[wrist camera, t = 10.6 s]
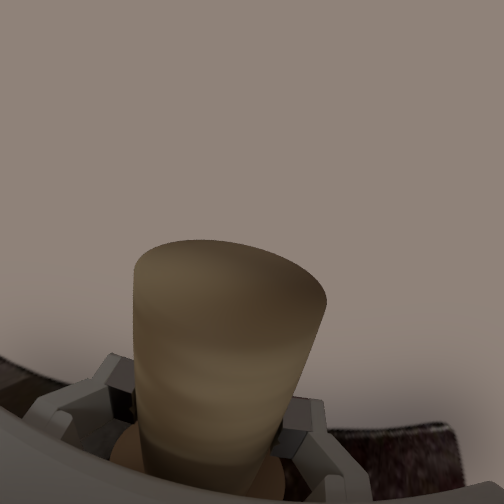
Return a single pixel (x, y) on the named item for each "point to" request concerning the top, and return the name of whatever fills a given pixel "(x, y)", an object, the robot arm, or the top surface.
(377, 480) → the top surface
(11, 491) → the robot arm
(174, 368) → the brown cylinder round base
